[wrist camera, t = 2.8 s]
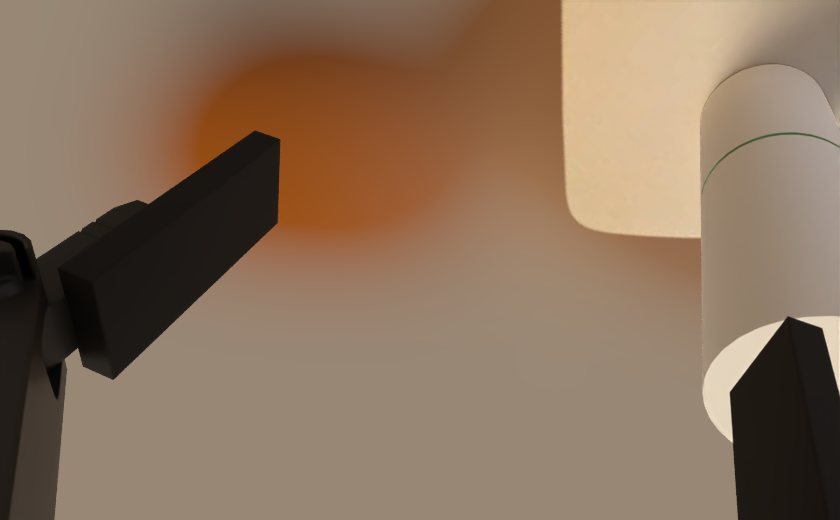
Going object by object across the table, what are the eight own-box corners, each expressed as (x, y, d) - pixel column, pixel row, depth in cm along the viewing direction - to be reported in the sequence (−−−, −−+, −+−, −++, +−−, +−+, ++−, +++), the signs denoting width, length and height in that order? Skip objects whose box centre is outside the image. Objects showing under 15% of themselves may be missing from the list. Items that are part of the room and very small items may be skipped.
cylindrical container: (711, 180, 43) (722, 472, 24) (689, 84, 40) (683, 328, 21) (833, 155, 39) (963, 475, 20) (819, 47, 36) (956, 302, 17)
